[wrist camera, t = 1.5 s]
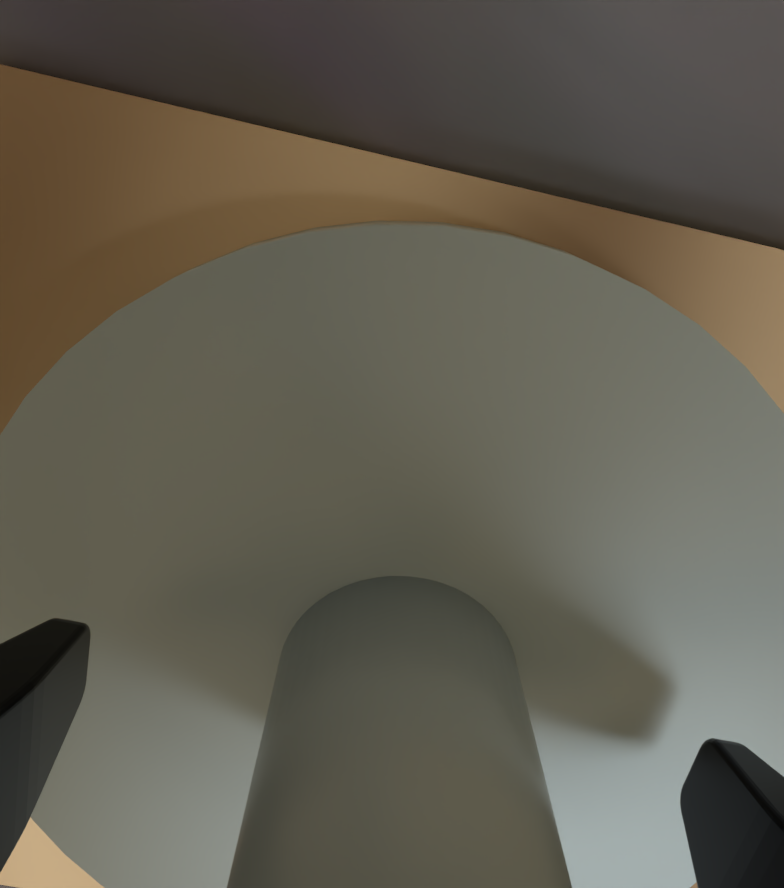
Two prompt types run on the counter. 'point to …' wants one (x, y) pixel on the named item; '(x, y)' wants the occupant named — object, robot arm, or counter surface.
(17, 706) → the robot arm
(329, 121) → the counter surface
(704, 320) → the mat
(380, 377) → the lid
